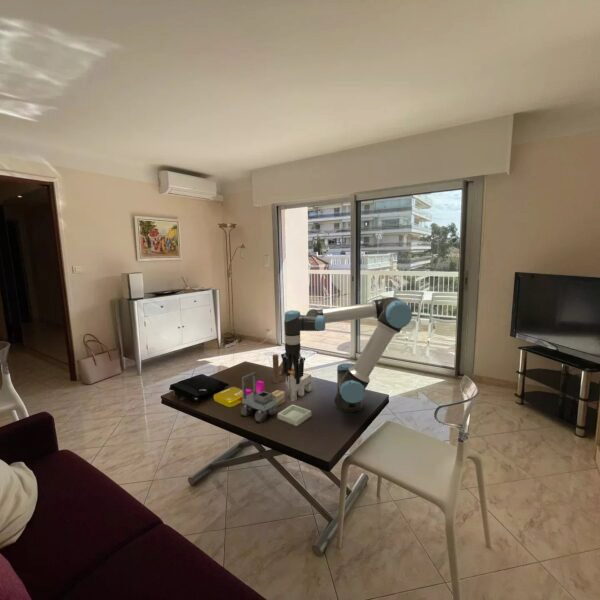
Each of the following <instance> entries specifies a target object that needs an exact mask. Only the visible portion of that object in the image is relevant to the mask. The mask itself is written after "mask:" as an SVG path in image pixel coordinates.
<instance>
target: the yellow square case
mask: <svg viewBox="0 0 600 600" xmlns="http://www.w3.org/2000/svg"><path fill="white" fill-rule="evenodd" d="M242 398H243V393H242V389H241V388H239V387H236V386H231V387H228V388H225V389H223V390H221V391H219V392H217V393H214V394H213V400H214V402H216V403H218V404H220V405H222V406H225V407H226V408H232V407H235V406H238V404H242Z"/></svg>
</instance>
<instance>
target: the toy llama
mask: <svg viewBox="0 0 600 600" xmlns="http://www.w3.org/2000/svg"><path fill="white" fill-rule="evenodd" d="M292 368H294V365H293V362H292ZM285 375H286V374H285ZM285 386H288V381H287V375H286V380H285ZM311 391H312V374H309V373H305V372H303V376H302V377H300V383H299V389H298V390H297V395H298V397H300V398H302V397H304V396H305V392H307V393H310V392H311Z"/></svg>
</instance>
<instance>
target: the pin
mask: <svg viewBox="0 0 600 600" xmlns="http://www.w3.org/2000/svg"><path fill="white" fill-rule="evenodd" d="M288 373H289V374H290V389H289V396H290V397H289V398H290V401H292V402H295V401H297V399H298V397H297V395H298V390H296V391H294V377H295V371H294V368H292V369H290V370H288Z"/></svg>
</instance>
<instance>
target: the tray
mask: <svg viewBox="0 0 600 600" xmlns="http://www.w3.org/2000/svg"><path fill="white" fill-rule="evenodd" d="M276 414H277V420H280V421H282V422H284V423H287V424H289V425H291V426H292V425H293V426H295V427H298V426H300V425H301V424H303V423H304V422H305V421H307V420H308V419H309V418H311V417H312V410H310V409H307V408H304V407H301V406H299V405H295V404H290V405H288V406H287V407H286V408H284V409H283V410H281V411H280V412H278V413H276Z"/></svg>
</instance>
